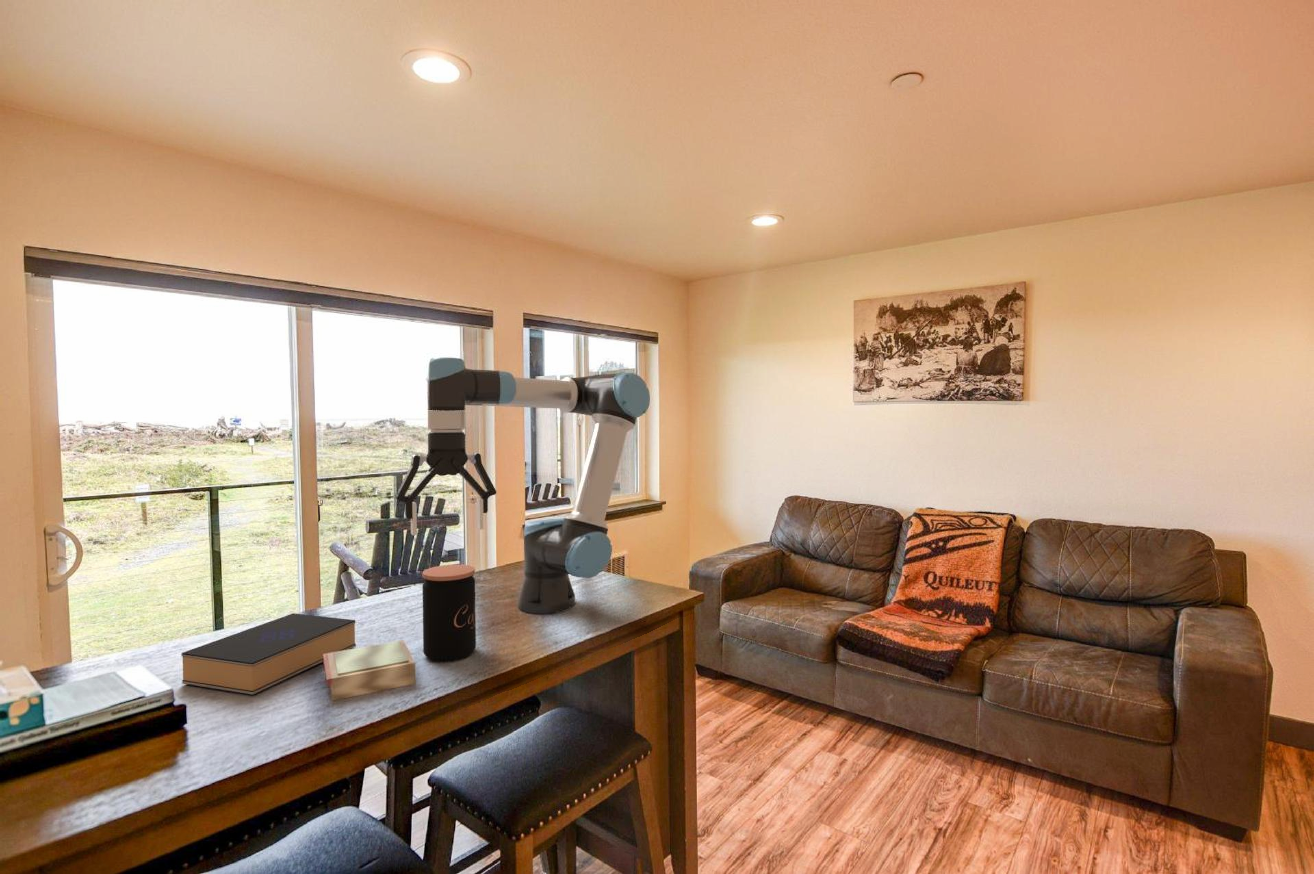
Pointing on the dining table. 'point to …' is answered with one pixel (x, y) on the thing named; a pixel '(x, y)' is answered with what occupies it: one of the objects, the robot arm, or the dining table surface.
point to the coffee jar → (449, 612)
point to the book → (267, 653)
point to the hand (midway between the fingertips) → (447, 531)
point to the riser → (368, 669)
